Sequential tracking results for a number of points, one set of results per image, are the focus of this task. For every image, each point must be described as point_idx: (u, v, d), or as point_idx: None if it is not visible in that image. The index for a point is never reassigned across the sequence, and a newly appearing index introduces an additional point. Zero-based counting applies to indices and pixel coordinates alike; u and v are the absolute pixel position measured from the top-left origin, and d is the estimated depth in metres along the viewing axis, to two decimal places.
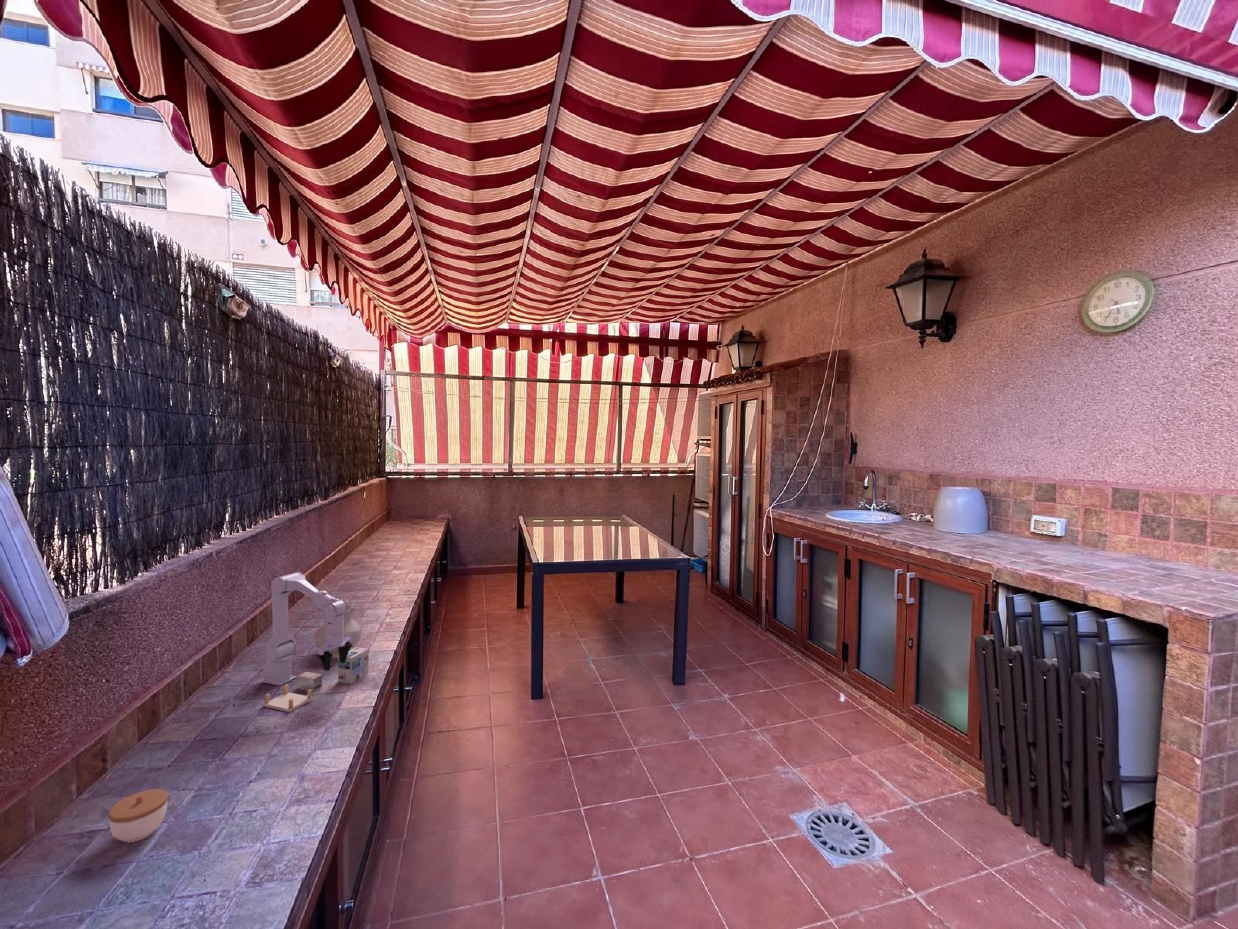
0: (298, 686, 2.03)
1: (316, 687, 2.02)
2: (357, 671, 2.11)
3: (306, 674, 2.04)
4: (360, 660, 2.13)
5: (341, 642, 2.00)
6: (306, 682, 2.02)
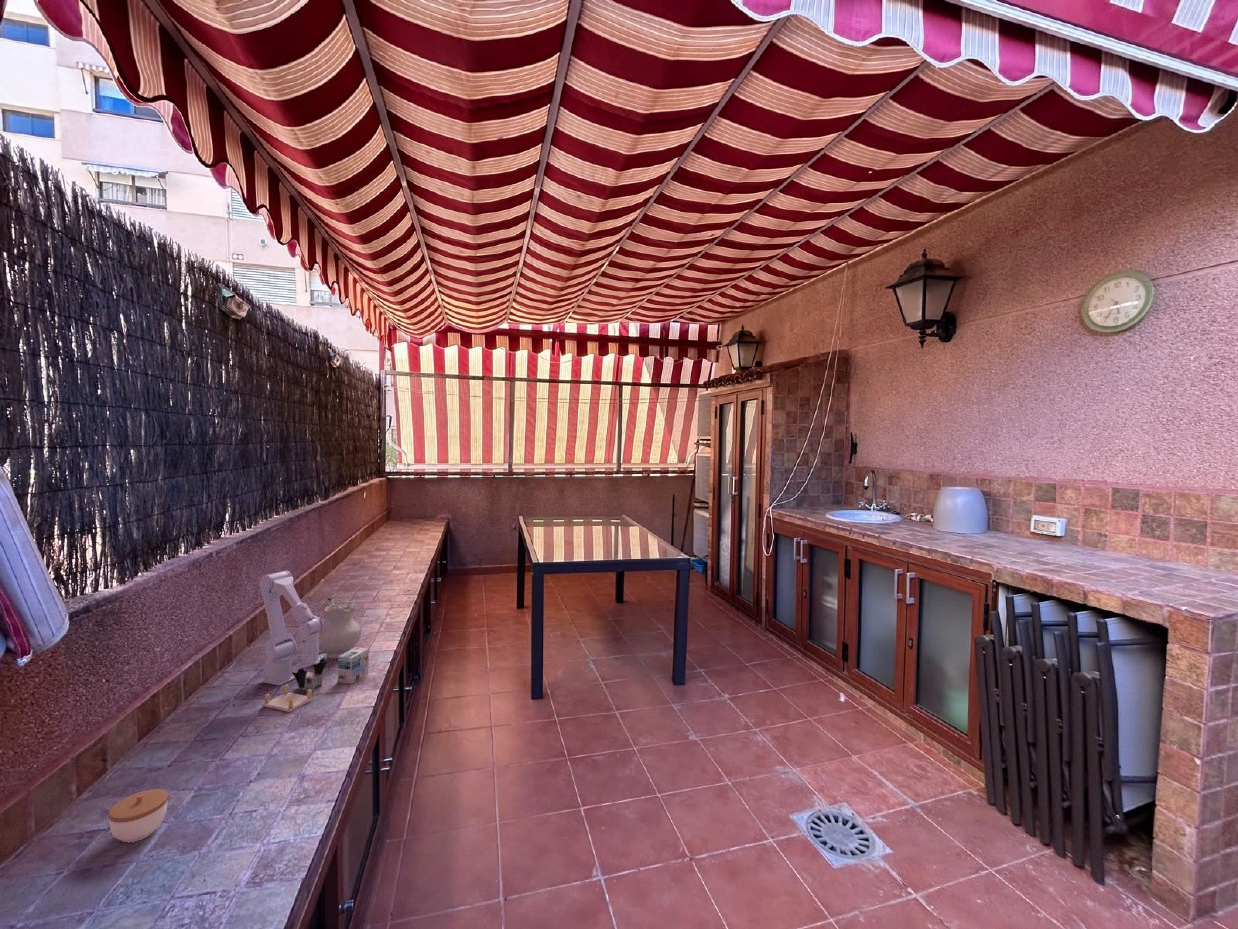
0: None
1: (316, 687, 2.02)
2: (357, 671, 2.11)
3: (306, 674, 2.04)
4: (360, 660, 2.13)
5: (316, 659, 2.03)
6: (306, 682, 2.02)
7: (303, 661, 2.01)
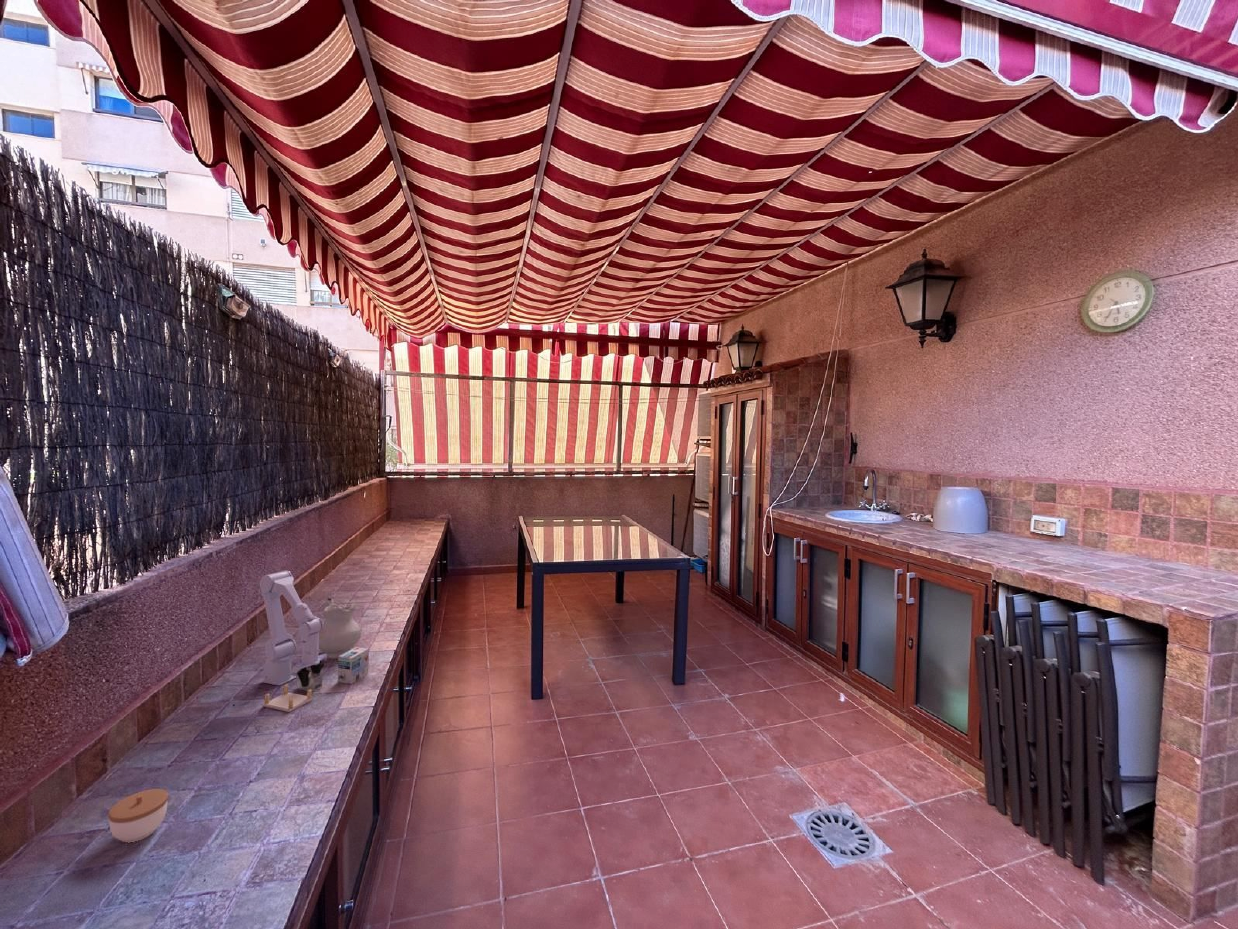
0: (298, 686, 2.03)
1: (316, 687, 2.02)
2: (357, 671, 2.11)
3: None
4: (360, 660, 2.13)
5: (316, 660, 2.03)
6: None
7: (303, 661, 2.01)
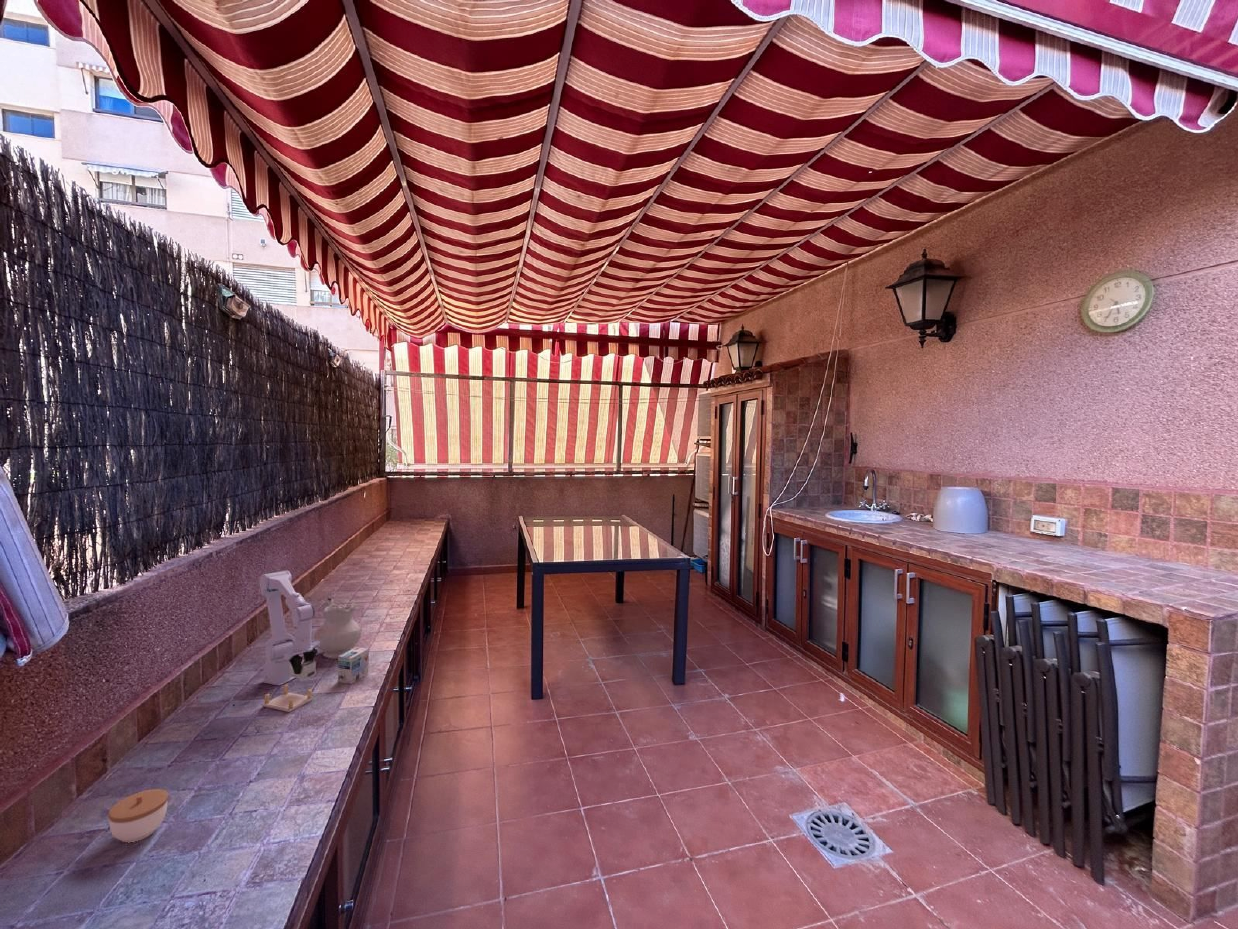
0: (291, 673, 1.98)
1: (310, 674, 1.97)
2: (357, 671, 2.11)
3: None
4: (360, 660, 2.13)
5: (309, 647, 1.98)
6: None
7: (296, 648, 1.96)
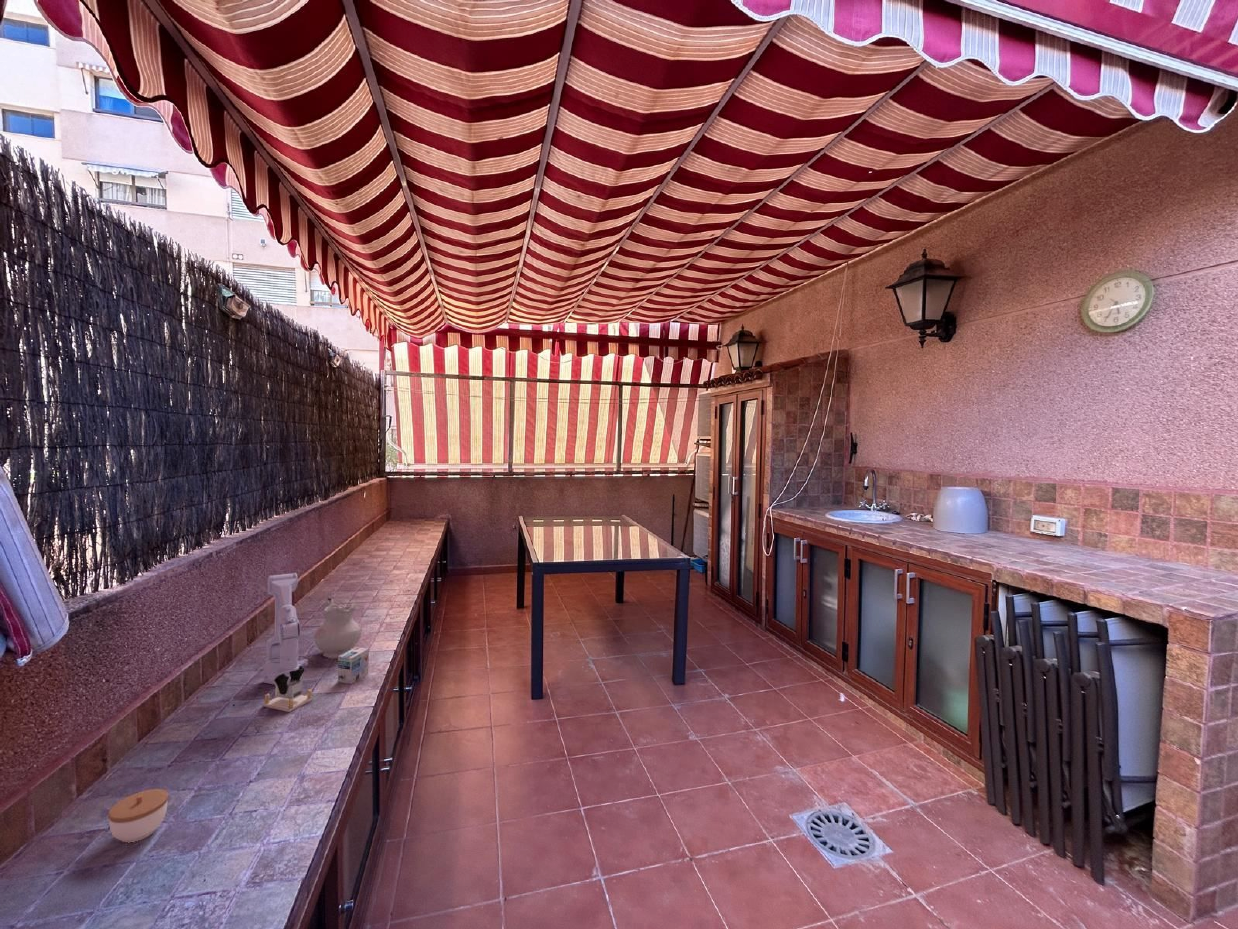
0: (276, 693, 1.90)
1: (296, 694, 1.90)
2: (357, 671, 2.11)
3: None
4: (360, 660, 2.13)
5: (295, 666, 1.90)
6: None
7: (281, 667, 1.88)
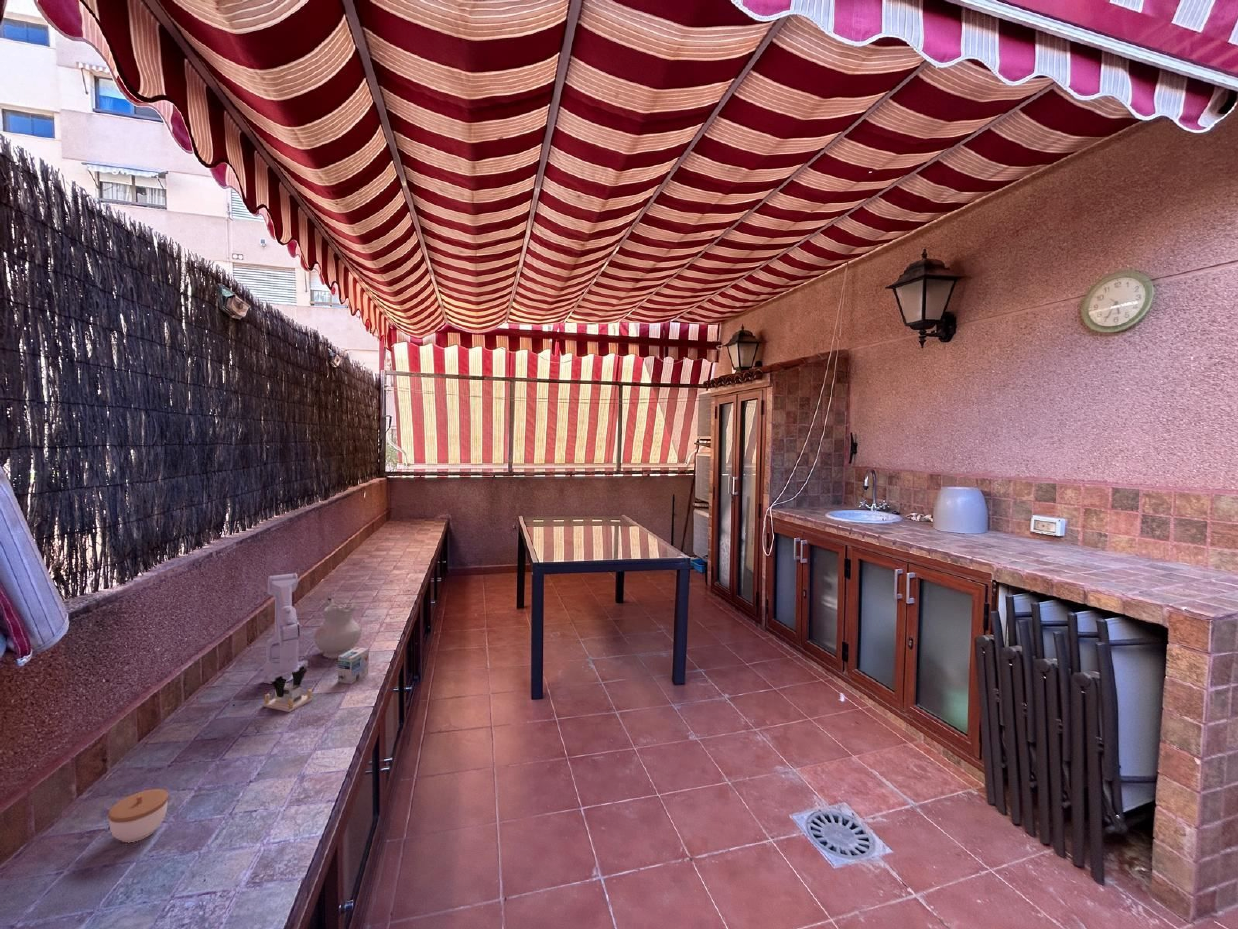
0: (276, 698, 1.90)
1: (296, 699, 1.90)
2: (357, 671, 2.11)
3: (285, 686, 1.91)
4: (360, 660, 2.13)
5: (295, 667, 1.90)
6: (284, 694, 1.89)
7: (281, 669, 1.88)
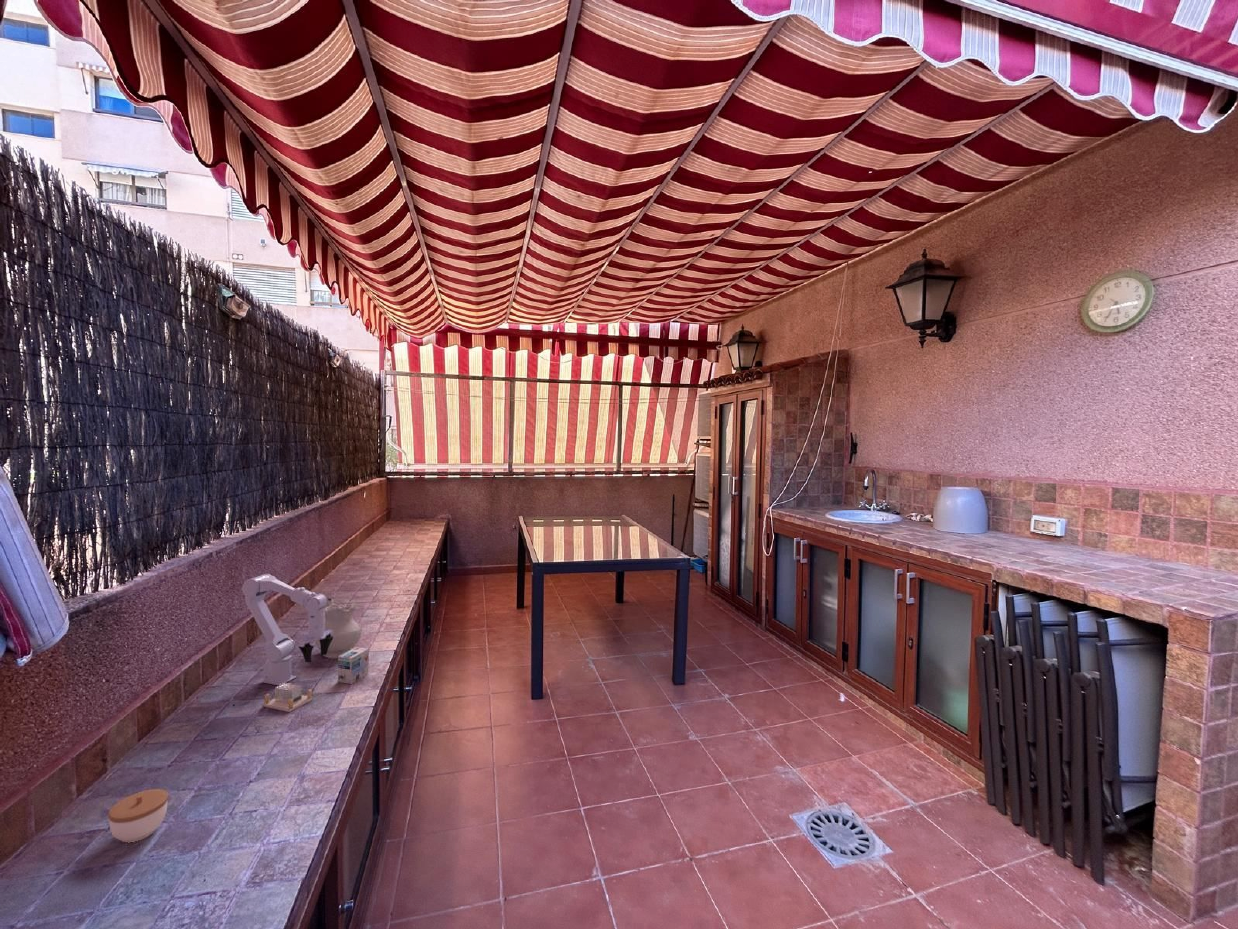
0: (276, 698, 1.90)
1: (296, 699, 1.90)
2: (357, 671, 2.11)
3: (285, 686, 1.91)
4: (360, 660, 2.13)
5: (322, 635, 2.08)
6: (284, 694, 1.89)
7: (309, 636, 2.06)
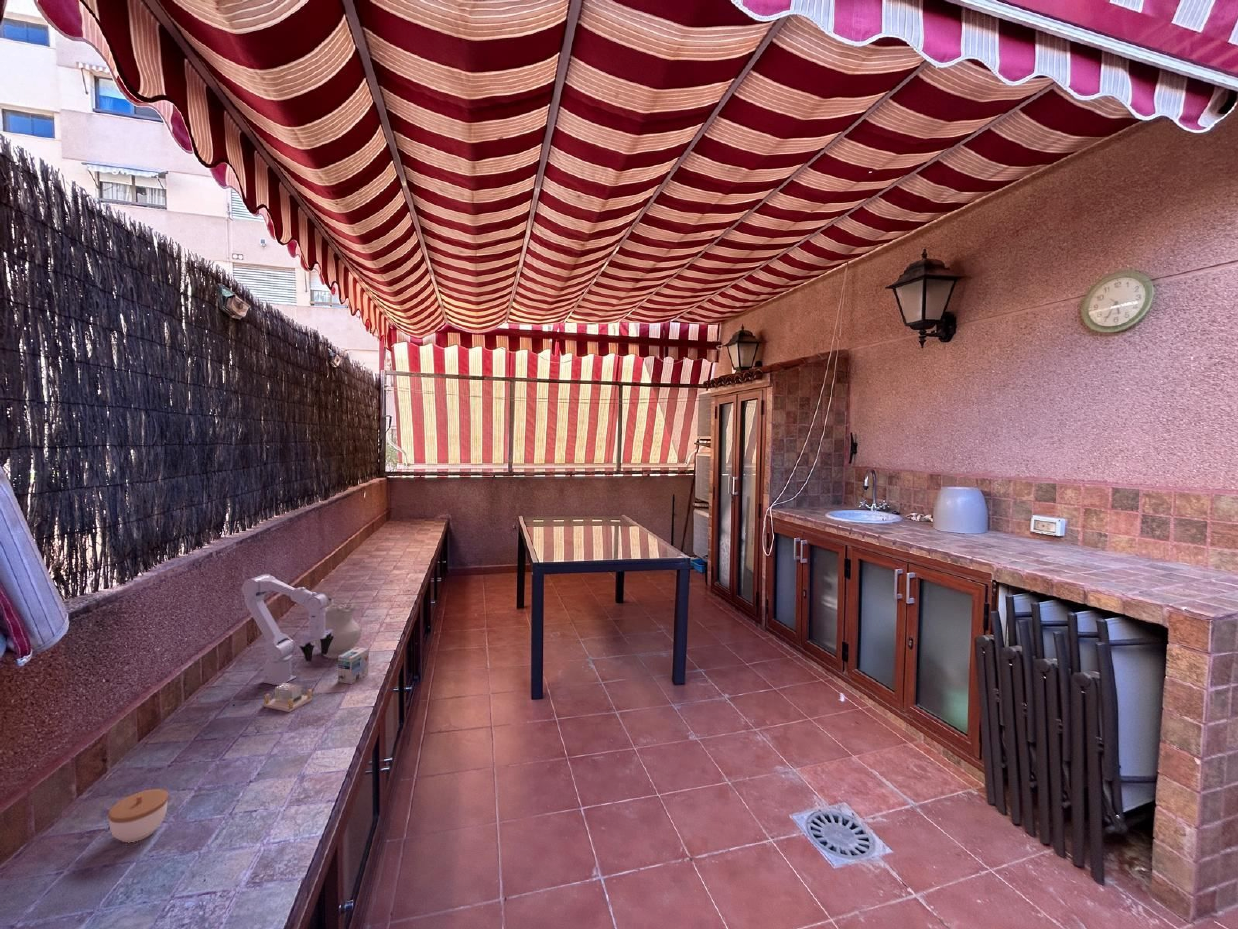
0: (276, 698, 1.90)
1: (296, 699, 1.90)
2: (357, 671, 2.11)
3: (285, 686, 1.91)
4: (360, 660, 2.13)
5: (322, 634, 2.08)
6: (284, 694, 1.89)
7: (310, 636, 2.06)
